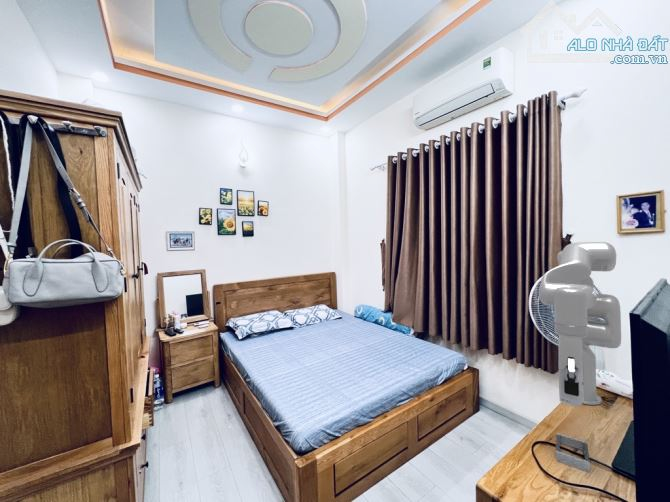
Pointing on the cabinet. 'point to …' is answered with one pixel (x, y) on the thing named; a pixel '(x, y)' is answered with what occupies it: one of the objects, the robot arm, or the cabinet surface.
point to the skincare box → (569, 398)
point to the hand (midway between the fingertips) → (571, 388)
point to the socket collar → (568, 458)
